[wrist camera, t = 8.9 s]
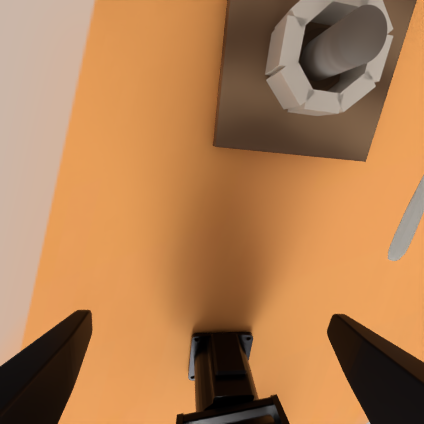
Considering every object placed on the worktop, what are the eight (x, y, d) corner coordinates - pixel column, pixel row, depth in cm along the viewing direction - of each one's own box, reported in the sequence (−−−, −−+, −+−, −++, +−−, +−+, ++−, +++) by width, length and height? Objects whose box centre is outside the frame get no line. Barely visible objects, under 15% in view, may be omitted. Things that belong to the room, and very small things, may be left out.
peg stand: (352, 159, 19) (421, 171, 14) (212, 145, 18) (225, 152, 12) (405, -21, 15) (532, -108, 10) (233, -61, 14) (266, -193, 8)
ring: (343, 119, 17) (368, 117, 14) (259, 108, 16) (272, 104, 13) (372, 12, 14) (407, -10, 12) (278, -8, 14) (296, -36, 11)
